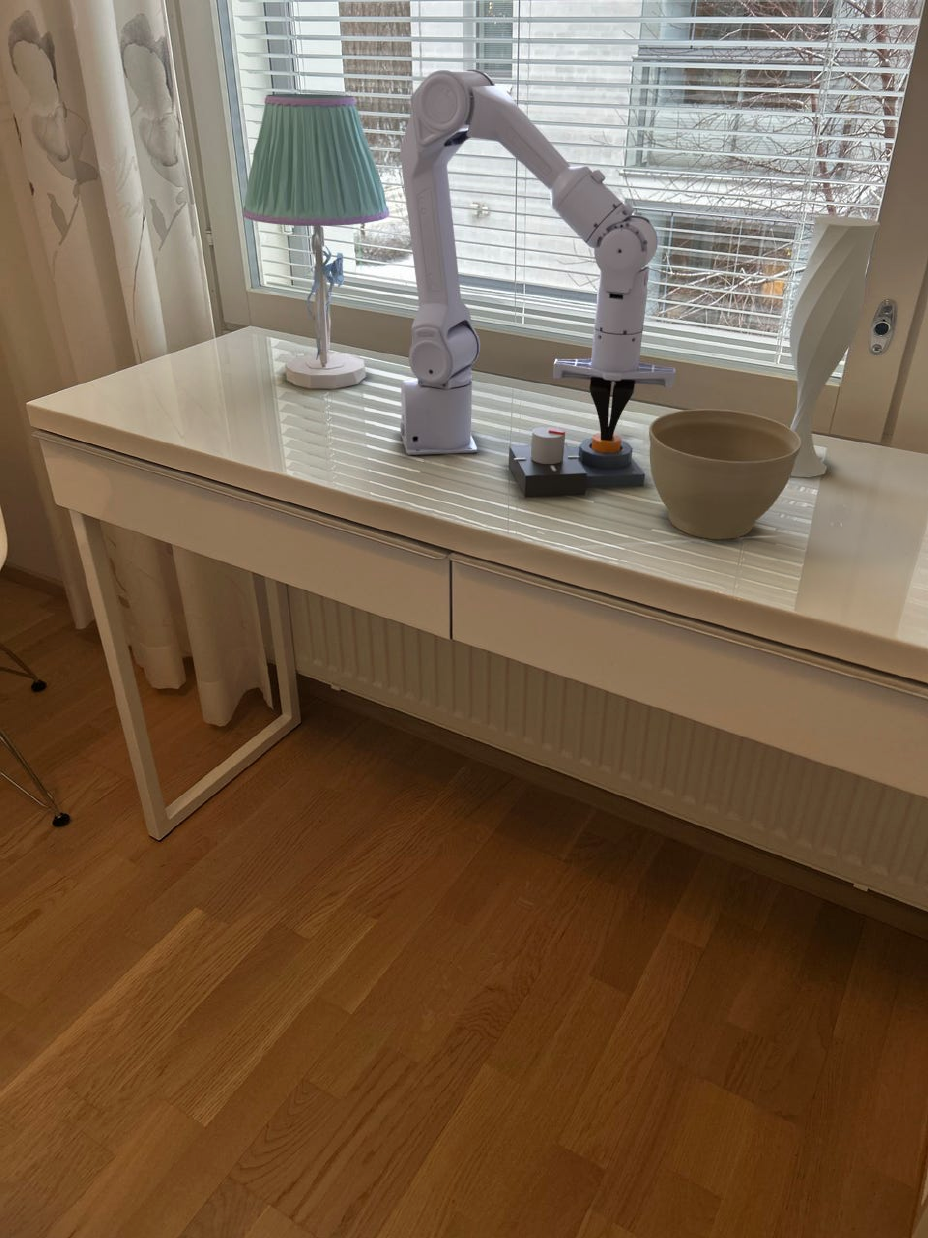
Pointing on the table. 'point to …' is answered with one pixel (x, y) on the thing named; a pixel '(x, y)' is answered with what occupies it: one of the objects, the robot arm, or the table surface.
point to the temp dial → (547, 445)
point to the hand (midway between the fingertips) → (606, 438)
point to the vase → (826, 317)
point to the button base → (609, 466)
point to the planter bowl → (720, 468)
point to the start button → (606, 444)
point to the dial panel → (546, 474)
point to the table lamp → (316, 203)
